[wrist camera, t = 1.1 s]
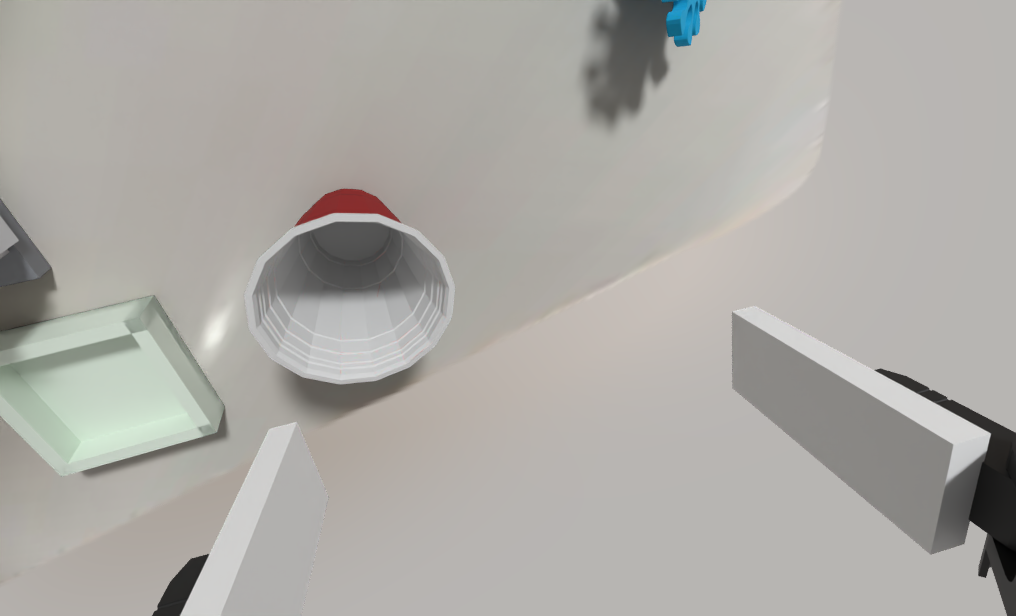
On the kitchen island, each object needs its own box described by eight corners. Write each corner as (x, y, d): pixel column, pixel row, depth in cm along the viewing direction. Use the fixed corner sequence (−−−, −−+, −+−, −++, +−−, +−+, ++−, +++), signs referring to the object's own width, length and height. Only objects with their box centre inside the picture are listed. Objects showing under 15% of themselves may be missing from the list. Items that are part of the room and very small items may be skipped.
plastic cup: (374, 315, 40) (383, 416, 30) (242, 244, 34) (200, 340, 24) (457, 212, 37) (496, 286, 27) (329, 118, 32) (321, 167, 22)
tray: (-22, 337, 32) (-53, 363, 30) (154, 295, 34) (139, 317, 32) (79, 446, 39) (61, 476, 36) (224, 406, 40) (216, 432, 38)
